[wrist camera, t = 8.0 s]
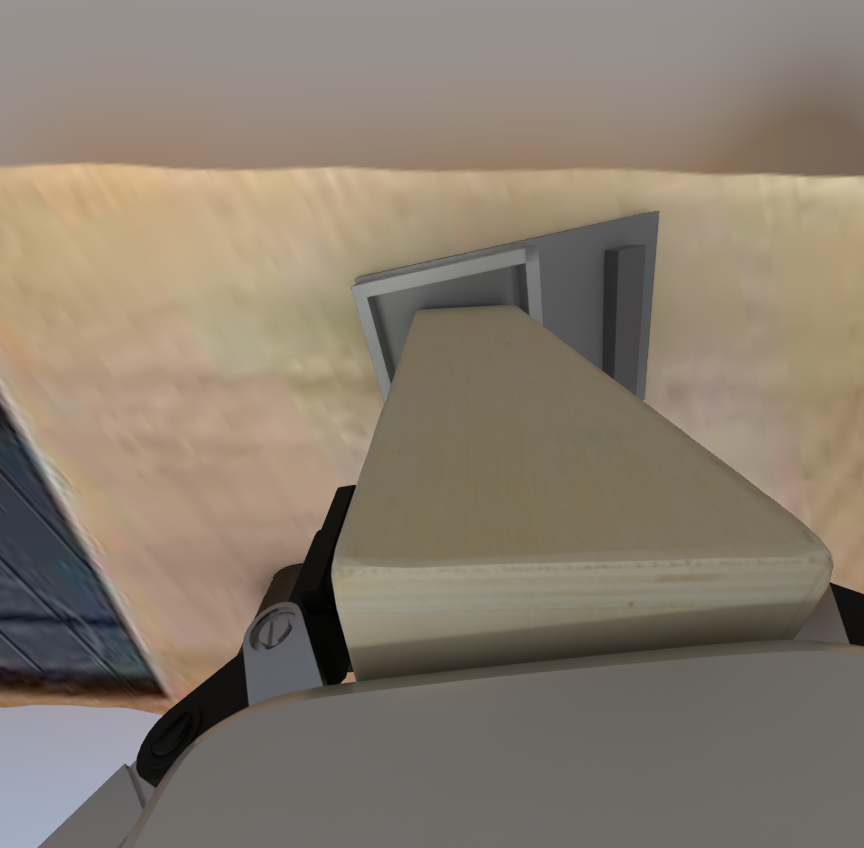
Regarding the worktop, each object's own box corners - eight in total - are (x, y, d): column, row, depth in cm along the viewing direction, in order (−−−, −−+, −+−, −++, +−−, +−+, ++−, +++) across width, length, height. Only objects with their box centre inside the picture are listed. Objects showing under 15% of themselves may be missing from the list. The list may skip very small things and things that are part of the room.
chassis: (649, 212, 23) (683, 207, 20) (636, 394, 29) (662, 413, 26) (357, 277, 25) (346, 282, 22) (401, 435, 31) (397, 458, 28)
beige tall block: (402, 306, 23) (267, 579, 4) (515, 300, 23) (877, 560, 4) (412, 415, 27) (360, 819, 8) (509, 411, 26) (689, 816, 8)
